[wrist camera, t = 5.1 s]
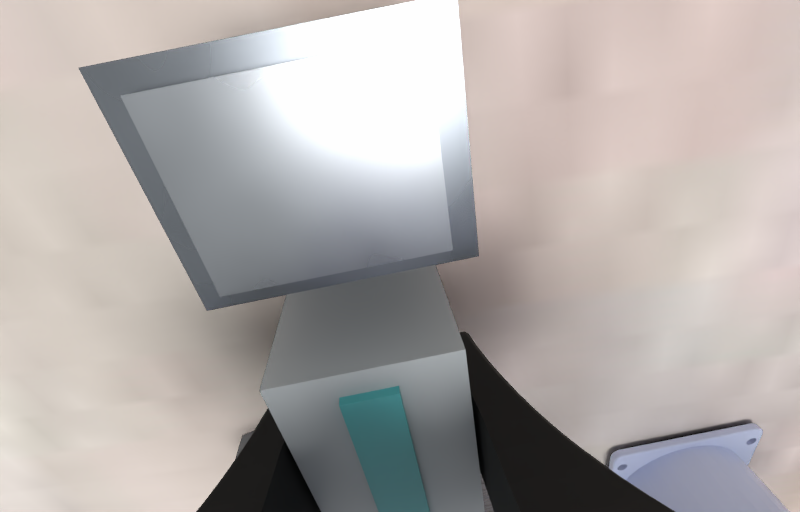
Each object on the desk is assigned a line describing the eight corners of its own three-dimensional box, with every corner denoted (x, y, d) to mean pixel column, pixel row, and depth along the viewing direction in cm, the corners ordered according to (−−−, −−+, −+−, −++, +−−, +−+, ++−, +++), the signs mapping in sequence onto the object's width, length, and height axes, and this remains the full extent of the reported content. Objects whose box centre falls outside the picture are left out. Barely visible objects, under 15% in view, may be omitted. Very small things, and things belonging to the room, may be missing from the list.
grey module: (444, 365, 15) (487, 523, 10) (344, 385, 15) (337, 553, 10) (422, 228, 12) (467, 357, 7) (297, 253, 12) (256, 399, 7)
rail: (465, 440, 19) (509, 600, 14) (366, 460, 19) (369, 629, 14) (406, 18, 10) (462, -11, 5) (221, 55, 10) (63, 69, 5)
